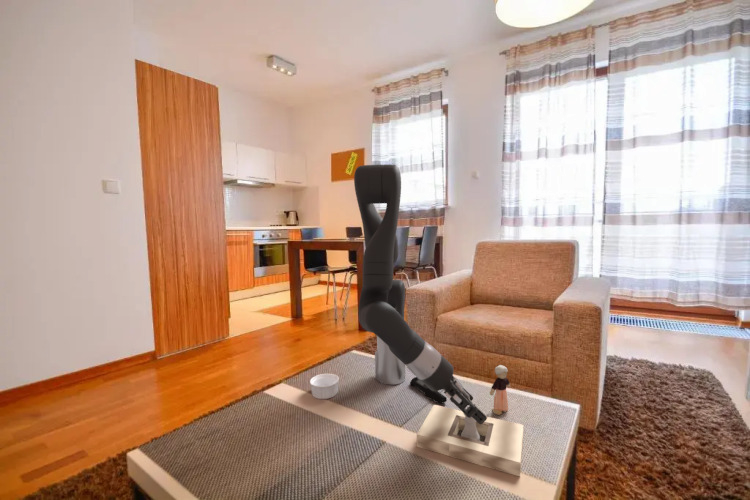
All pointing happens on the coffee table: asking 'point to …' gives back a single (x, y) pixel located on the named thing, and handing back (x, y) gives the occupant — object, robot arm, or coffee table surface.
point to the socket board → (494, 453)
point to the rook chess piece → (470, 428)
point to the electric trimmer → (428, 391)
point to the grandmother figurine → (500, 390)
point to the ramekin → (324, 386)
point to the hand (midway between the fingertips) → (476, 410)
